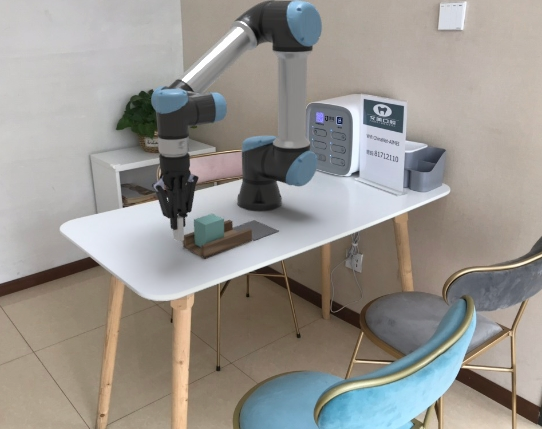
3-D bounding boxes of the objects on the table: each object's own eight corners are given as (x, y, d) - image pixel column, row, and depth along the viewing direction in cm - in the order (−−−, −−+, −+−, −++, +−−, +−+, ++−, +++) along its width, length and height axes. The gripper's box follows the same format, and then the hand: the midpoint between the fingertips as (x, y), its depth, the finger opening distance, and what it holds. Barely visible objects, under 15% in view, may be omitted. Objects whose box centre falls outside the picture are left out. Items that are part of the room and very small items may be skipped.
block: (194, 244, 151) (193, 219, 148) (212, 237, 155) (212, 213, 152) (206, 250, 147) (205, 224, 144) (224, 243, 151) (223, 218, 148)
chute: (183, 246, 151) (182, 235, 150) (229, 230, 162) (229, 219, 161) (205, 258, 144) (204, 247, 143) (251, 240, 155) (251, 229, 154)
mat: (229, 229, 163) (229, 228, 163) (254, 220, 169) (254, 219, 169) (254, 240, 155) (254, 239, 155) (278, 231, 162) (278, 230, 162)
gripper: (160, 161, 127) (166, 251, 136) (204, 151, 136) (207, 237, 144) (143, 154, 132) (149, 241, 141) (186, 146, 141) (190, 228, 149)
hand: (178, 239), depth 143 cm, fingers closed
